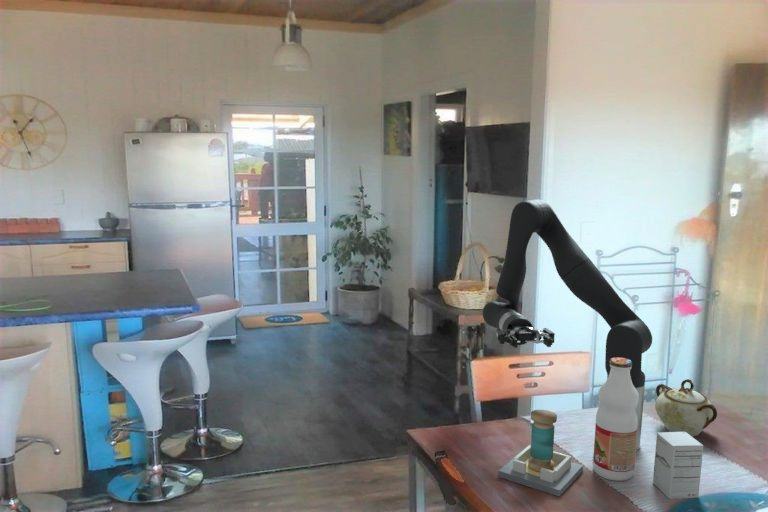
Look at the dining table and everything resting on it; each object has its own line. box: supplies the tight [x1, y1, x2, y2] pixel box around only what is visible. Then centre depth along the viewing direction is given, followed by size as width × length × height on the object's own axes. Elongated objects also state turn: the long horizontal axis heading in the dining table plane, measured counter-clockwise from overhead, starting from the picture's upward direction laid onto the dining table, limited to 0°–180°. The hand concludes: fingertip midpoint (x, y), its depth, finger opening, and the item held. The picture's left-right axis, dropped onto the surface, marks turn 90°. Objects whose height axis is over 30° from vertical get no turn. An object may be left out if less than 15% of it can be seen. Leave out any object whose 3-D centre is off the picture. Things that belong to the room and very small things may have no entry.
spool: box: [528, 409, 558, 472], centre depth 154 cm, size 6×6×13 cm
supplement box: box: [652, 431, 704, 499], centre depth 147 cm, size 7×7×13 cm
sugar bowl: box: [654, 379, 718, 437], centre depth 180 cm, size 20×15×15 cm
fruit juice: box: [592, 357, 639, 482], centre depth 154 cm, size 9×9×28 cm
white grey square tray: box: [497, 444, 584, 497], centre depth 154 cm, size 15×15×4 cm
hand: (533, 343), depth 161 cm, fingers open, 8 cm apart
